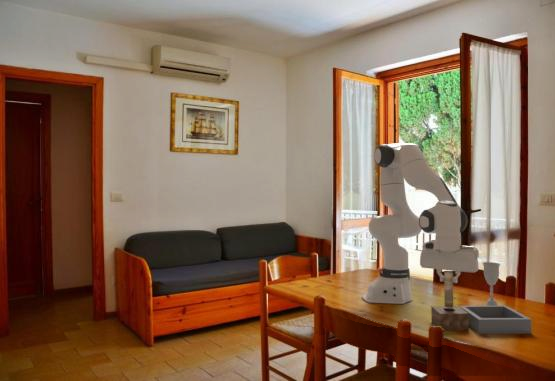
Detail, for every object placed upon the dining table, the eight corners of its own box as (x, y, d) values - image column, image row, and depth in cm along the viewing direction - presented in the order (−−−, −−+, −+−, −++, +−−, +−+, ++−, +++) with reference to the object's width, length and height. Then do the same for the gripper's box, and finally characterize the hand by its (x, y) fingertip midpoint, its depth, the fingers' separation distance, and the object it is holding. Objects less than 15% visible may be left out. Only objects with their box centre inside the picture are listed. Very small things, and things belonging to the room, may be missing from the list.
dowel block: (440, 330, 158) (440, 313, 158) (431, 321, 168) (431, 306, 168) (468, 330, 157) (468, 313, 157) (458, 321, 167) (457, 306, 167)
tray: (479, 333, 153) (478, 319, 153) (459, 318, 171) (459, 305, 171) (531, 333, 153) (531, 319, 153) (506, 318, 171) (506, 305, 171)
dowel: (452, 308, 160) (451, 272, 160) (443, 306, 162) (443, 271, 162) (454, 306, 163) (453, 271, 163) (445, 305, 165) (445, 270, 164)
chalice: (479, 303, 193) (479, 262, 193) (494, 302, 193) (493, 262, 193) (489, 307, 186) (488, 265, 186) (504, 307, 186) (503, 264, 186)
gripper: (480, 245, 159) (480, 283, 159) (423, 242, 171) (423, 277, 171) (476, 247, 154) (477, 287, 154) (418, 243, 166) (418, 280, 166)
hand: (448, 282), depth 162 cm, fingers closed on dowel, 3 cm apart
